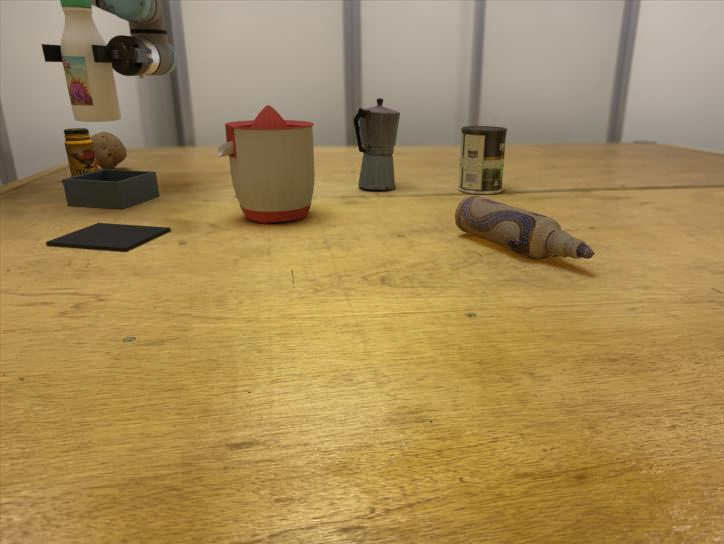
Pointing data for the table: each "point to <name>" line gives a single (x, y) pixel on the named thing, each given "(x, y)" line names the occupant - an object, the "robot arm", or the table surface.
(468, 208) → the decorative bottle
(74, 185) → the bin
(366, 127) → the moka pot
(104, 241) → the mat
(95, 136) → the brown lumpy rounded lump
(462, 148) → the coffee can
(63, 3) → the milk bottle
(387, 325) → the table surface
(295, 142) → the citrus juicer
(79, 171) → the condiment
